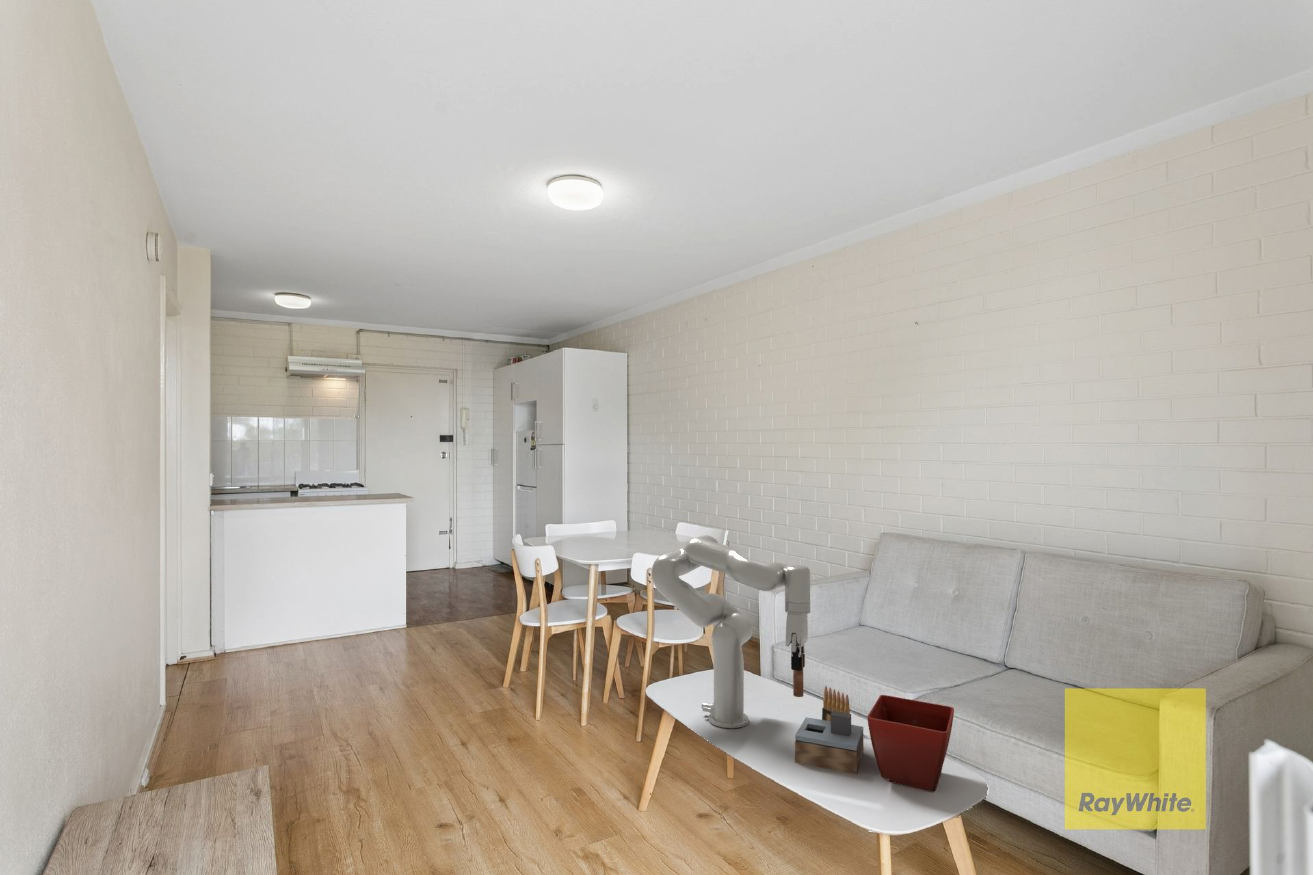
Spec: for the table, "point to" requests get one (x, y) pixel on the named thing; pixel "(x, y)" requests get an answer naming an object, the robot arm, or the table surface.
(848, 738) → the toolbox lid
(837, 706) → the ammunition clip
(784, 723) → the table surface
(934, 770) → the plant pot
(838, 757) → the brown hollow box
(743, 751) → the table surface
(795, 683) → the brown rounded cylinder
